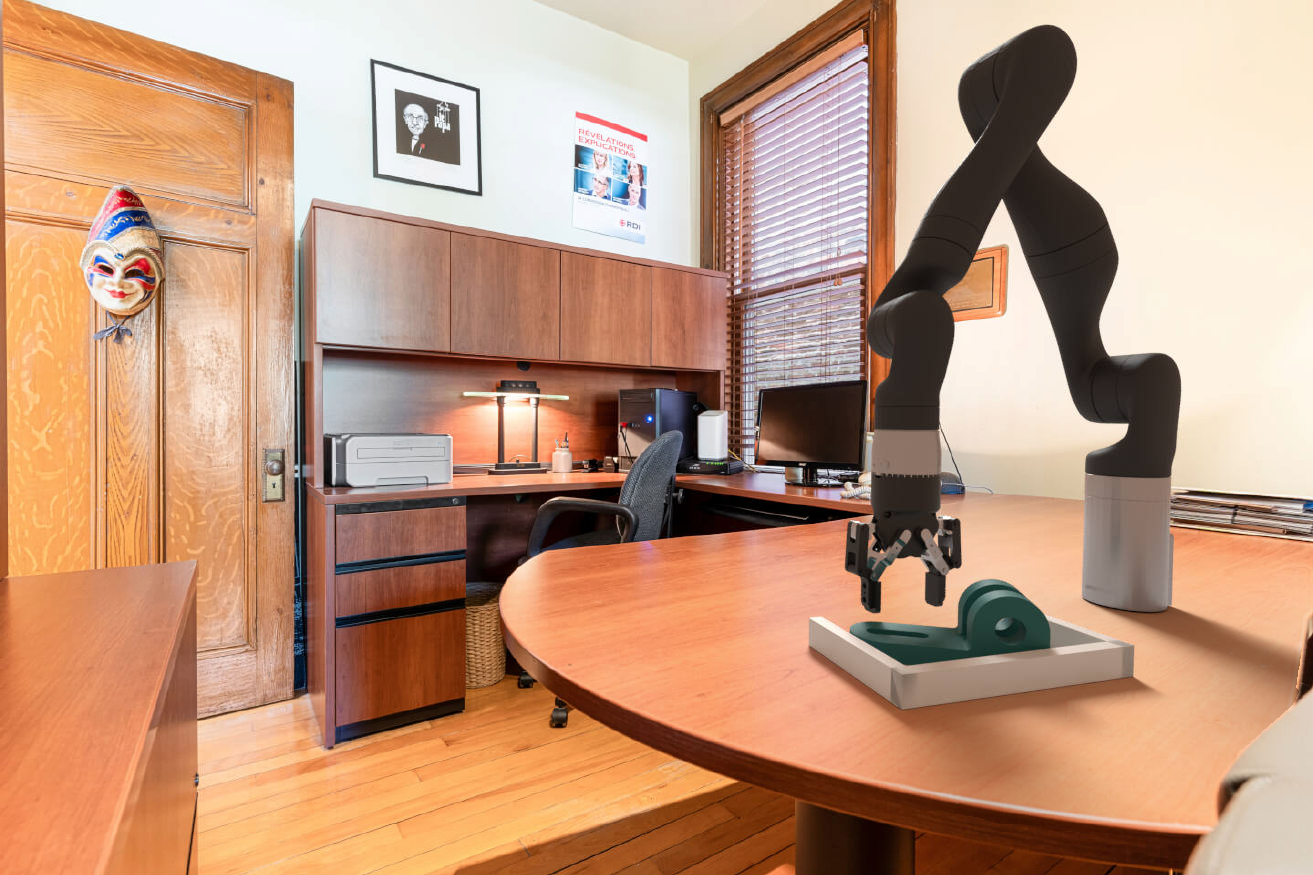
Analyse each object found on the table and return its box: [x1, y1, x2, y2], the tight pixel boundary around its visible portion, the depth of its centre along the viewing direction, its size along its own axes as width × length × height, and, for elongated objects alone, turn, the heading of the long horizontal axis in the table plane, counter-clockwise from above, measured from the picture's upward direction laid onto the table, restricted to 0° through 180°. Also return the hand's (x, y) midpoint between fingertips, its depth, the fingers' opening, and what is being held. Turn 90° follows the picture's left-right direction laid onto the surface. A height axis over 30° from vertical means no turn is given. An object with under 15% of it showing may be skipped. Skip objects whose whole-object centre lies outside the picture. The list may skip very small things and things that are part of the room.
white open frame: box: [808, 613, 1135, 710], centre depth 63 cm, size 26×16×3 cm, turn 106°
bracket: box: [849, 578, 1051, 666], centre depth 64 cm, size 18×7×8 cm, turn 75°
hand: (903, 608), depth 72 cm, fingers open, 8 cm apart
